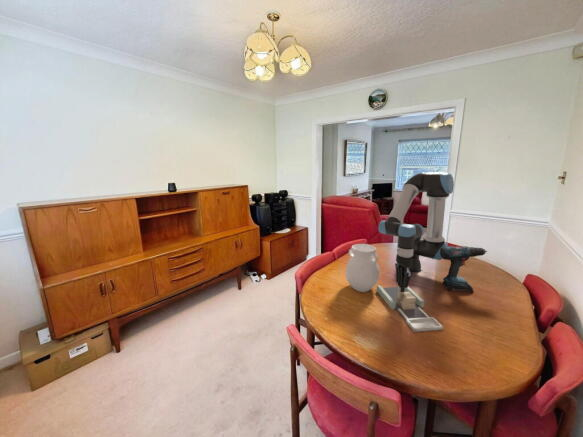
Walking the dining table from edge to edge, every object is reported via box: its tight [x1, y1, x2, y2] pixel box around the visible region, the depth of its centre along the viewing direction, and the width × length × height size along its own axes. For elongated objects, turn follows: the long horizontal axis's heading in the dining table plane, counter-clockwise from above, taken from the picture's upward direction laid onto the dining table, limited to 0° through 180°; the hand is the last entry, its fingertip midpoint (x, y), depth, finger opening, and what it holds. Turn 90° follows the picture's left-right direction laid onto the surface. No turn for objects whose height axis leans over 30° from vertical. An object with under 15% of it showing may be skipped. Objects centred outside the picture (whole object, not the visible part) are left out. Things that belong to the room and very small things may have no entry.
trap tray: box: [405, 316, 444, 333], centre depth 111 cm, size 7×13×2 cm, turn 94°
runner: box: [382, 286, 431, 322], centre depth 129 cm, size 30×13×1 cm, turn 4°
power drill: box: [440, 245, 488, 293], centre depth 140 cm, size 9×23×25 cm, turn 78°
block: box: [397, 292, 416, 310], centre depth 125 cm, size 6×6×6 cm
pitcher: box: [345, 243, 380, 293], centre depth 142 cm, size 19×18×25 cm
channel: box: [376, 284, 425, 310], centre depth 132 cm, size 18×17×4 cm
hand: (400, 297), depth 130 cm, fingers closed
